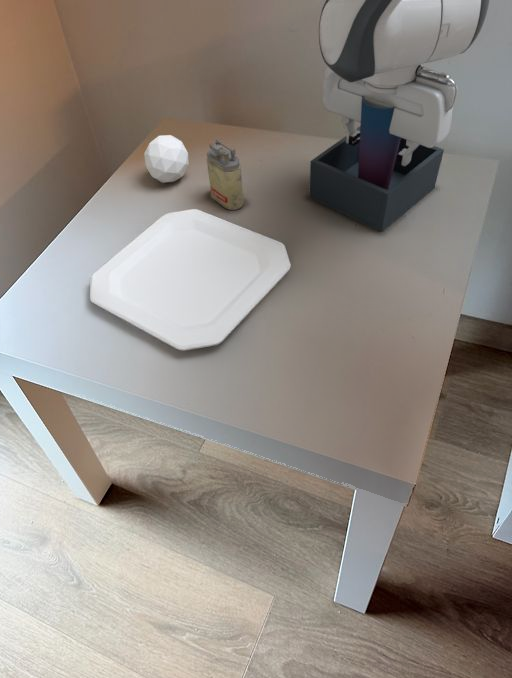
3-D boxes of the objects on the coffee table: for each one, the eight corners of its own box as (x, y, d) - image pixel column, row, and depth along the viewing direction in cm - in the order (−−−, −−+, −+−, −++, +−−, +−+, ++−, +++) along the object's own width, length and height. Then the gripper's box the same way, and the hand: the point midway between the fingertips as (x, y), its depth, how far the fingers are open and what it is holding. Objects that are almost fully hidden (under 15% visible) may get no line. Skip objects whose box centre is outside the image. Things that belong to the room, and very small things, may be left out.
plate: (76, 300, 81) (71, 289, 79) (180, 211, 92) (178, 200, 90) (203, 370, 71) (201, 360, 69) (304, 262, 81) (305, 250, 80)
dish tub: (434, 187, 89) (444, 149, 84) (381, 232, 84) (388, 194, 78) (362, 158, 96) (366, 121, 90) (309, 197, 91) (310, 160, 85)
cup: (398, 180, 90) (415, 87, 78) (388, 203, 86) (404, 110, 74) (358, 173, 92) (369, 82, 80) (346, 196, 89) (355, 105, 77)
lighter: (207, 195, 94) (199, 140, 86) (224, 186, 95) (218, 131, 87) (232, 213, 90) (226, 158, 82) (249, 203, 91) (245, 148, 83)
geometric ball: (162, 195, 100) (128, 166, 95) (181, 159, 101) (148, 129, 96) (185, 189, 94) (150, 158, 89) (204, 151, 95) (171, 119, 90)
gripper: (473, 68, 69) (448, 166, 80) (345, 32, 79) (338, 124, 90) (446, 88, 67) (423, 186, 78) (317, 49, 77) (314, 141, 88)
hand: (377, 153), depth 84 cm, fingers open, 8 cm apart
